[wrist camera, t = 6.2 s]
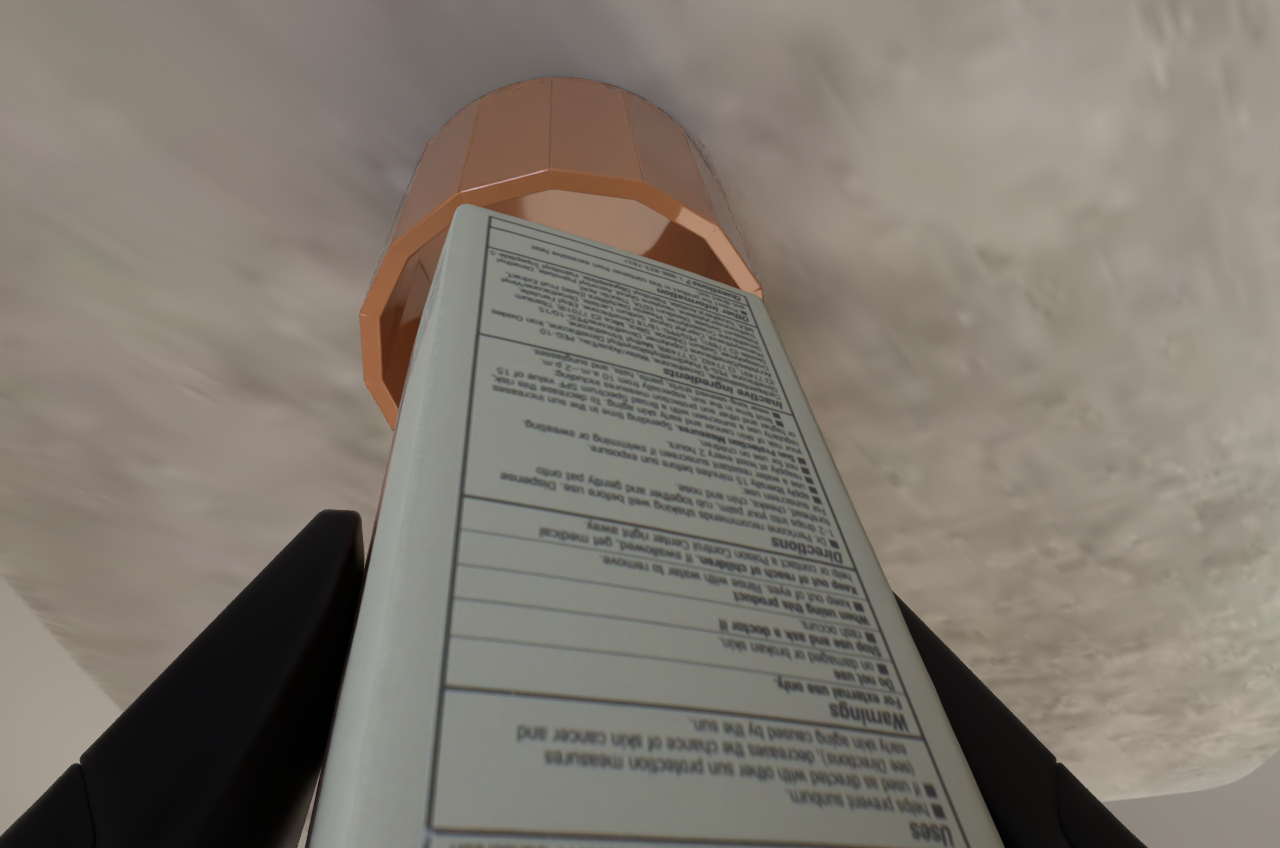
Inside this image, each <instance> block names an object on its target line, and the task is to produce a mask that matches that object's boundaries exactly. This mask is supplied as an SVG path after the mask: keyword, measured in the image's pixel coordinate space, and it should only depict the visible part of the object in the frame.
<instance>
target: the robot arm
mask: <svg viewBox="0 0 1280 848" xmlns="http://www.w3.org/2000/svg"><path fill="white" fill-rule="evenodd" d="M363 573H364V546H363V533H362V521H361V516H360V514H359V513H358V512H356V511H350V510H332V509H327V510H323V511H321V512H319V513H318V514H317V515H316V516H315V517H314V518H313V519H312V520H311V521H310V522H309V523H308V524H307V525H306V526H305V527H304V529H303V530H302V531H301V532H300V533H299V534H298V535H297V536H296V537H295V538H294V539H293V540H292V541H291V542H290V543H289V544H288V545H287V546H286V547H285V548H284V549H283V550H282V551H281V552H280V553H279V554H278V555H277V556H276V557H275V558H274V559H273V560H272V561H271V562H270V563H269V564H268V565H267V566H266V567H265V568H264V569H263V570H262V571H261V572H260V573H259V575H258V576H257V577H256V578H255V579H254V580H253V581H252V582H251V583H250V584H249V585H248V586H247V587H246V588H245V589H244V590H243V591H242V592H241V593H240V594H239V595H238V596H237V597H236V598H235V599H234V600H233V601H232V602H231V603H230V604H229V605H228V606H227V607H226V608H225V609H224V610H223V611H222V612H221V613H220V614H219V615H218V616H217V617H216V618H215V619H214V621H213V622H212V623H211V624H210V625H209V626H208V627H207V628H206V629H205V630H204V631H203V632H202V633H201V634H200V635H199V636H198V637H197V638H196V639H195V640H194V641H193V642H192V643H191V644H190V645H189V646H188V647H187V648H186V649H185V650H184V651H183V652H182V653H181V654H180V655H179V656H178V657H177V658H176V659H175V660H174V661H173V662H172V663H171V664H170V665H169V667H168V668H167V669H166V670H165V671H164V672H163V673H162V674H161V675H160V676H159V677H158V678H157V679H156V680H155V681H154V682H153V683H152V684H151V685H150V686H149V687H148V688H147V689H146V690H145V691H144V692H143V693H142V694H141V695H140V696H139V697H138V698H137V699H136V700H135V701H134V702H133V703H132V704H131V705H130V706H129V707H128V708H127V709H126V710H125V711H124V712H123V714H122V715H121V716H120V717H119V718H118V719H117V720H116V721H115V722H114V723H113V724H112V725H111V726H110V727H109V728H108V729H107V730H106V731H105V732H104V733H103V734H102V735H101V736H100V737H99V738H98V739H97V740H96V741H95V742H94V743H93V744H92V745H91V746H90V747H89V748H88V749H87V750H86V751H85V752H84V753H83V754H82V755H81V757H80V764H81V765H80V764H78V763H76V764H73V765H71V766H70V767H69V768H68V769H67V770H66V771H65V772H64V773H63V774H62V775H61V776H60V777H59V778H58V779H57V780H56V781H55V783H54V784H53V785H52V786H51V787H50V788H49V789H48V790H47V791H46V792H45V793H44V794H43V795H42V796H41V797H40V798H39V799H38V800H37V801H36V802H35V803H34V804H33V805H32V806H31V807H30V808H29V809H28V810H27V811H26V812H25V813H24V814H23V815H22V816H21V817H20V818H19V819H17V820H16V821H15V822H14V823H13V824H12V825H11V826H10V827H9V828H8V829H7V830H6V831H5V832H4V833H3V834H2V835H1V836H0V848H297V847H298V843H299V840H300V837H301V833H302V830H303V827H304V823H305V820H306V817H307V814H308V810H309V807H310V804H311V800H312V797H313V794H314V790H315V787H316V784H317V780H318V777H319V774H320V770H321V767H322V764H323V759H324V754H325V749H326V745H327V740H328V735H329V730H330V726H331V721H332V717H333V712H334V707H335V703H336V698H337V693H338V689H339V684H340V680H341V675H342V671H343V666H344V661H345V657H346V652H347V648H348V643H349V639H350V634H351V629H352V625H353V620H354V615H355V611H356V606H357V601H358V597H359V592H360V588H361V583H362V578H363ZM892 592H893V591H892ZM893 594H894V597H895V599H896V601H897V604H898V606H899V609H900V611H901V613H902V616H903V618H904V620H905V623H906V625H907V627H908V630H909V632H910V634H911V637H912V639H913V641H914V643H915V645H916V648H917V650H918V652H919V654H920V657H921V659H922V661H923V663H924V665H925V668H926V670H927V672H928V674H929V676H930V678H931V680H932V683H933V685H934V687H935V689H936V692H937V694H938V697H939V699H940V702H941V704H942V707H943V709H944V711H945V713H946V716H947V718H948V720H949V723H950V725H951V727H952V729H953V732H954V734H955V736H956V738H957V741H958V743H959V745H960V747H961V749H962V752H963V754H964V756H965V758H966V761H967V763H968V765H969V767H970V770H971V772H972V774H973V777H974V779H975V781H976V784H977V786H978V788H979V791H980V793H981V795H982V798H983V800H984V802H985V804H986V807H987V809H988V811H989V813H990V816H991V818H992V820H993V822H994V825H995V827H996V829H997V831H998V834H999V836H1000V838H1001V840H1002V843H1003V845H1004V847H1005V848H1148V847H1147V846H1145V845H1144V844H1143V843H1142V842H1141V841H1140V840H1139V839H1138V838H1137V837H1136V836H1135V835H1133V834H1132V833H1131V832H1130V831H1129V830H1128V829H1127V828H1126V827H1125V826H1124V825H1123V824H1122V823H1121V822H1120V821H1119V820H1118V819H1117V818H1116V817H1115V816H1114V815H1113V814H1112V813H1111V812H1110V811H1109V810H1108V809H1107V808H1106V807H1105V806H1104V805H1103V804H1102V803H1101V802H1100V801H1099V800H1098V799H1097V798H1096V797H1095V796H1094V795H1093V794H1092V793H1091V792H1090V791H1089V790H1088V789H1087V788H1086V787H1085V786H1084V785H1083V784H1082V783H1081V782H1080V781H1079V780H1078V779H1077V778H1076V777H1075V776H1074V775H1073V774H1072V773H1071V772H1070V771H1069V770H1068V769H1067V768H1066V767H1065V766H1064V765H1063V764H1062V763H1057V761H1056V757H1055V756H1054V755H1053V754H1052V753H1051V752H1050V751H1049V750H1048V749H1047V748H1046V747H1045V746H1044V745H1043V744H1042V743H1041V742H1040V741H1039V740H1038V739H1037V738H1036V737H1035V736H1034V735H1033V734H1032V733H1031V732H1030V731H1029V729H1028V728H1027V727H1026V726H1025V725H1024V724H1023V723H1022V722H1021V721H1020V720H1019V719H1018V718H1017V717H1016V716H1015V715H1014V714H1013V713H1012V712H1011V711H1010V710H1009V709H1008V708H1007V707H1006V706H1005V705H1004V704H1003V703H1002V702H1001V701H1000V700H999V699H998V698H997V697H996V696H995V695H994V694H993V693H992V692H991V691H990V690H989V689H988V688H987V687H986V686H985V685H984V684H983V683H982V682H981V681H980V680H979V679H978V677H977V676H976V675H975V674H974V673H973V672H972V671H971V670H970V669H969V668H968V667H967V666H966V665H965V664H964V663H963V662H962V661H961V660H960V659H959V658H958V657H957V656H956V655H955V654H954V653H953V652H952V651H951V650H950V649H949V648H948V647H947V646H946V645H945V644H944V643H943V642H942V641H941V640H940V639H939V638H938V637H937V636H936V635H935V634H934V633H933V632H932V631H931V630H930V629H929V628H928V626H927V625H926V624H925V623H924V622H923V621H922V620H921V619H920V618H919V617H918V616H917V615H916V614H915V613H914V612H913V611H912V610H911V609H910V608H909V607H908V606H907V605H906V604H905V603H904V602H903V601H902V600H901V599H900V598H899V597H898V596H897V595H896V594H895V593H894V592H893Z"/></svg>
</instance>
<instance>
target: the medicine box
mask: <svg viewBox="0 0 1280 848" xmlns="http://www.w3.org/2000/svg"><path fill="white" fill-rule="evenodd" d="M305 848H1005V847H1004V845H1003V843H1002V840H1001V838H1000V836H999V834H998V831H997V829H996V827H995V825H994V822H993V820H992V818H991V816H990V813H989V811H988V809H987V807H986V804H985V802H984V800H983V798H982V795H981V793H980V791H979V788H978V786H977V784H976V781H975V779H974V777H973V774H972V772H971V770H970V767H969V765H968V763H967V761H966V758H965V756H964V754H963V752H962V749H961V747H960V745H959V743H958V741H957V738H956V736H955V734H954V732H953V729H952V727H951V725H950V723H949V720H948V718H947V716H946V713H945V711H944V709H943V707H942V704H941V702H940V699H939V697H938V694H937V692H936V689H935V687H934V685H933V683H932V680H931V678H930V676H929V674H928V672H927V670H926V668H925V665H924V663H923V661H922V659H921V657H920V654H919V652H918V650H917V648H916V645H915V643H914V641H913V639H912V637H911V634H910V632H909V630H908V627H907V625H906V623H905V620H904V618H903V616H902V613H901V611H900V609H899V606H898V604H897V601H896V599H895V597H894V594H893V592H892V590H891V588H890V585H889V583H888V581H887V579H886V577H885V574H884V572H883V570H882V568H881V566H880V564H879V561H878V559H877V557H876V554H875V552H874V549H873V547H872V545H871V543H870V541H869V539H868V537H867V535H866V532H865V530H864V528H863V526H862V523H861V521H860V519H859V517H858V514H857V512H856V510H855V508H854V505H853V503H852V501H851V498H850V496H849V494H848V491H847V489H846V487H845V484H844V482H843V480H842V478H841V476H840V474H839V471H838V469H837V467H836V464H835V462H834V459H833V457H832V455H831V453H830V450H829V448H828V446H827V443H826V441H825V439H824V437H823V434H822V432H821V430H820V428H819V426H818V424H817V421H816V419H815V416H814V414H813V411H812V409H811V406H810V404H809V402H808V400H807V397H806V395H805V393H804V391H803V389H802V387H801V384H800V382H799V379H798V377H797V375H796V373H795V371H794V368H793V366H792V364H791V362H790V360H789V357H788V355H787V353H786V350H785V348H784V346H783V343H782V341H781V339H780V336H779V334H778V332H777V329H776V327H775V324H774V322H773V320H772V318H771V316H770V314H769V311H768V309H767V307H766V305H765V303H764V302H763V300H762V299H761V298H760V297H758V296H757V295H755V294H752V293H749V292H746V291H743V290H740V289H737V288H734V287H731V286H729V285H726V284H724V283H721V282H718V281H715V280H711V279H709V278H706V277H703V276H701V275H698V274H695V273H692V272H689V271H686V270H683V269H680V268H677V267H674V266H671V265H668V264H665V263H662V262H659V261H656V260H652V259H649V258H646V257H643V256H640V255H637V254H634V253H631V252H628V251H624V250H621V249H618V248H615V247H612V246H609V245H606V244H603V243H600V242H597V241H593V240H590V239H587V238H584V237H580V236H577V235H574V234H570V233H567V232H564V231H561V230H558V229H555V228H552V227H548V226H545V225H542V224H538V223H534V222H531V221H527V220H524V219H520V218H517V217H514V216H510V215H507V214H503V213H500V212H496V211H493V210H489V209H486V208H482V207H479V206H475V205H471V204H462V205H460V206H459V207H457V209H456V211H455V213H454V216H453V219H452V222H451V225H450V228H449V231H448V234H447V237H446V240H445V243H444V246H443V249H442V252H441V256H440V259H439V262H438V265H437V268H436V272H435V275H434V278H433V281H432V285H431V288H430V291H429V294H428V297H427V301H426V304H425V307H424V310H423V314H422V317H421V321H420V325H419V328H418V332H417V336H416V339H415V343H414V346H413V350H412V354H411V357H410V361H409V366H408V371H407V375H406V380H405V383H404V388H403V392H402V396H401V400H400V405H399V409H398V414H397V419H396V423H395V428H394V432H393V436H392V441H391V446H390V450H389V455H388V460H387V464H386V469H385V474H384V478H383V483H382V488H381V492H380V497H379V502H378V507H377V511H376V516H375V521H374V525H373V530H372V535H371V540H370V544H369V549H368V554H367V559H366V563H365V568H364V573H363V578H362V583H361V588H360V592H359V597H358V601H357V606H356V611H355V615H354V620H353V625H352V629H351V634H350V639H349V643H348V648H347V652H346V657H345V661H344V666H343V671H342V675H341V680H340V684H339V689H338V693H337V698H336V703H335V707H334V712H333V717H332V721H331V726H330V730H329V735H328V740H327V745H326V749H325V754H324V759H323V764H322V768H321V773H320V778H319V783H318V788H317V792H316V797H315V802H314V807H313V811H312V816H311V821H310V826H309V830H308V836H307V840H306V845H305Z"/></svg>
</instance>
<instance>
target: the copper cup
mask: <svg viewBox="0 0 1280 848" xmlns="http://www.w3.org/2000/svg"><path fill="white" fill-rule="evenodd" d="M462 204H471V205H475V206H479V207H482V208H486V209H489V210H493V211H496V212H500V213H503V214H507V215H510V216H514V217H517V218H520V219H524V220H527V221H531V222H534V223H538V224H542V225H545V226H548V227H552V228H555V229H558V230H561V231H564V232H567V233H570V234H574V235H577V236H580V237H584V238H587V239H590V240H593V241H597V242H600V243H603V244H606V245H609V246H612V247H615V248H618V249H621V250H624V251H628V252H631V253H634V254H637V255H640V256H643V257H646V258H649V259H652V260H656V261H659V262H662V263H665V264H668V265H671V266H674V267H677V268H680V269H683V270H686V271H689V272H692V273H695V274H698V275H701V276H703V277H706V278H709V279H711V280H715V281H718V282H721V283H724V284H726V285H729V286H731V287H734V288H737V289H740V290H743V291H746V292H749V293H752V294H755V295H757V296H758V297H760V298H761V299H762V300H763V302H764V297H763V290H762V287H761V284H760V282H759V279H758V277H757V274H756V272H755V270H754V267H753V265H752V262H751V260H750V258H749V255H748V253H747V250H746V248H745V246H744V243H743V241H742V238H741V236H740V234H739V231H738V229H737V226H736V224H735V222H734V219H733V217H732V214H731V212H730V210H729V207H728V205H727V202H726V200H725V198H724V195H723V193H722V190H721V188H720V186H719V183H718V181H717V179H716V178H715V176H714V175H713V173H712V172H711V170H710V169H709V167H708V165H707V164H706V162H705V160H704V158H703V157H702V155H701V153H700V151H699V150H698V148H697V147H696V145H695V144H694V143H693V142H692V140H691V139H690V138H689V136H688V135H687V134H686V132H685V131H684V130H683V129H682V128H681V127H680V126H678V125H677V124H676V123H675V122H674V121H673V120H672V119H671V118H670V117H669V116H668V115H666V114H665V113H664V112H662V111H661V110H660V109H658V108H657V107H656V106H654V105H653V104H652V103H650V102H648V101H646V100H644V99H642V98H641V97H639V96H637V95H635V94H633V93H631V92H629V91H626V90H623V89H621V88H618V87H616V86H613V85H610V84H606V83H602V82H597V81H593V80H589V79H580V78H569V77H555V78H539V79H533V80H528V81H523V82H518V83H514V84H512V85H509V86H506V87H503V88H500V89H497V90H494V91H492V92H490V93H489V94H487V95H485V96H483V97H481V98H479V99H477V100H475V101H473V102H472V103H471V104H469V105H468V106H466V107H465V108H464V109H462V110H461V111H459V112H458V113H457V114H456V115H455V116H453V117H452V118H451V119H450V120H449V121H448V122H447V123H446V124H445V125H444V126H443V127H442V128H441V129H440V130H439V132H438V133H437V134H436V136H435V137H434V138H432V139H431V140H430V141H429V143H428V144H427V146H426V148H425V150H424V152H423V155H422V157H421V159H420V161H419V163H418V165H417V167H416V170H415V172H414V175H413V177H412V179H411V181H410V183H409V186H408V188H407V190H406V192H405V195H404V197H403V199H402V202H401V204H400V207H399V210H398V212H397V215H396V217H395V220H394V223H393V225H392V228H391V231H390V233H389V236H388V239H387V241H386V244H385V246H384V249H383V252H382V254H381V257H380V260H379V262H378V265H377V268H376V270H375V273H374V275H373V278H372V281H371V283H370V286H369V289H368V291H367V294H366V297H365V299H364V302H363V305H362V307H361V310H360V315H359V316H360V330H361V345H362V359H363V373H364V381H365V384H366V386H367V388H368V389H369V391H370V393H371V394H372V396H373V398H374V400H375V401H376V403H377V405H378V406H379V408H380V410H381V412H382V413H383V415H384V417H385V418H386V420H387V422H388V424H389V425H390V427H391V429H392V430H393V432H394V428H395V423H396V419H397V414H398V409H399V405H400V400H401V396H402V392H403V388H404V383H405V380H406V375H407V371H408V366H409V361H410V357H411V354H412V350H413V346H414V343H415V339H416V336H417V332H418V328H419V325H420V321H421V317H422V314H423V310H424V307H425V304H426V301H427V297H428V294H429V291H430V288H431V285H432V281H433V278H434V275H435V272H436V268H437V265H438V262H439V259H440V256H441V252H442V249H443V246H444V243H445V240H446V237H447V234H448V231H449V228H450V225H451V222H452V219H453V216H454V213H455V211H456V209H457V207H459V206H460V205H462Z"/></svg>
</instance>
